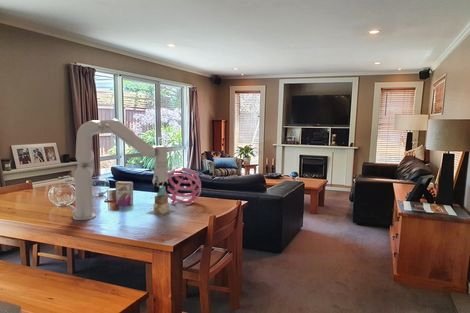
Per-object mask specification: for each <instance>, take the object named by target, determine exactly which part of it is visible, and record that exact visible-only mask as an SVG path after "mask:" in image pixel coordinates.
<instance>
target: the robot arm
mask: <svg viewBox="0 0 470 313" xmlns="http://www.w3.org/2000/svg"><path fill="white" fill-rule="evenodd" d="M101 134H113V136H115V137H117V138H118V139H120V140H121V141H122V142H124V143H125V144H127V145H128V146H130V147H131V148H133V149H134V150H135V151H137V152H138V153H140V155H142V156H143V157H145V158H148V159H151V158H154V159H155V160H154V161H155V162H154V170H153V178H152V179H151V181H152V185H153V186H154V187H153V190H154V193H157V192H159V186H160V185H159V184H160V183H161V184H163V186H165V191H168V186H169V178H170V177H169V175H168V173H169V172H168V171H169V170H168V147H167V146H166V145H151V144H149V143H148V142H146V141H145V140H144V139H142V138H141V137H140V136H139V135H138V134H137V133H136V132H135V131H134V130H132V129H131V128H129V127H128V126H127V125H126V124H124V123H123V122H121V121H120V120H119V119H117V118H112V119H102V120H101V119H100V120H99V119H98V120H95V119H92V120H88V121H86V122H84V123H82V125H80V127H79V128H78V129H77V132H76V143H75V160H76V162H77V166H76V169H75V170H74V173H73V181H74V182H73V184H74V199H75V204H74V205H75V209H73V210H72V214H74V215H73V216H72V219H73V220H74V221H87V220H91V219H94V218H95V217H96V213H94V212H93V210H94V209H93V208H94V206H93V205H94V204H93V203H94V202H93V200H94V198H93V178H92V177H93V175H94V171H95V170H94V169H95V165H94V164H95V154H94V150H92V149H93V148H92V147H93V146H92V145H93V136H94V135H101ZM163 182H164V183H163Z"/></svg>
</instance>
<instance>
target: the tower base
mask: <svg viewBox="0 0 470 313" xmlns="http://www.w3.org/2000/svg"><path fill="white" fill-rule="evenodd" d="M169 208H170V202H169V201H168V203H165V204H163V205H162V204H155V202H154V203H153V210H154V213H159V214H164V213H166V212H169V210H170V209H169Z"/></svg>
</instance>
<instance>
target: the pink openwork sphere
mask: <svg viewBox="0 0 470 313" xmlns="http://www.w3.org/2000/svg"><path fill="white" fill-rule="evenodd" d="M183 172H186V173H183ZM187 173H189V174H187ZM168 176H169V177H170V178H169V181H168V183H169V184H170V185H171V186H172V187H173V188H174V189H172V188H171V187H170V186H169V185H168V190H165V195H168V198H169V199H170V201H171V204H172V205H173V206H176V205H177V204H178V203H181V205H183V206H190V205H192V204H193V203H194V202H195V200H196V199H198V197H200V195H201V193H202V181H201V179H200V177H199V176H198V174H197V173H196V172H195V171H194V170H192V169H190V168H188V167H176V168H174V169H172V170H171V171H169V172H168ZM173 177H174V178H175V180H176V181H178V182H177V183H176V182H174V180H173ZM180 177H181V178H180ZM184 177H185V178H187V179H184ZM193 181H194V182H195V183H194V184H193ZM163 183H164V182H162V183H161V184H162V185H161V186H163ZM181 184H190V186H181ZM196 187H198V188H197V189H196ZM195 189H196V190H195ZM179 190H180V191H191V192H190V193H181V192H178V191H179ZM167 191H168V192H170V194H171V195H170V194H169V193H168V192H167ZM177 197H181V198H188V199H180V198H177ZM189 197H191V198H189Z"/></svg>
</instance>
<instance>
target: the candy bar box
mask: <svg viewBox="0 0 470 313" xmlns="http://www.w3.org/2000/svg"><path fill="white" fill-rule="evenodd" d="M133 204H134V182H133V181H120V180H119V181H115V205H117V206H133Z"/></svg>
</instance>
